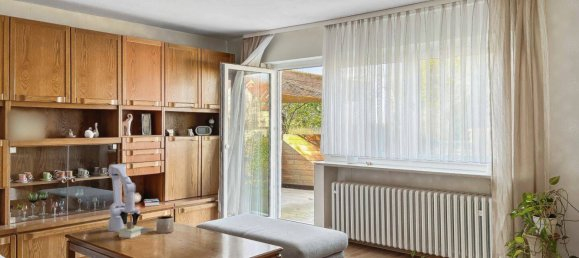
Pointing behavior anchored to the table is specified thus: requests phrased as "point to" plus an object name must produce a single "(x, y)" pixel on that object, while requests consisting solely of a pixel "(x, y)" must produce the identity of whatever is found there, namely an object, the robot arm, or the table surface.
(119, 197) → the robot arm
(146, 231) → the mat
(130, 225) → the lid
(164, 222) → the planter
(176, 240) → the table surface
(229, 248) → the table surface
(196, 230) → the table surface
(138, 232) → the beige bevelled block
